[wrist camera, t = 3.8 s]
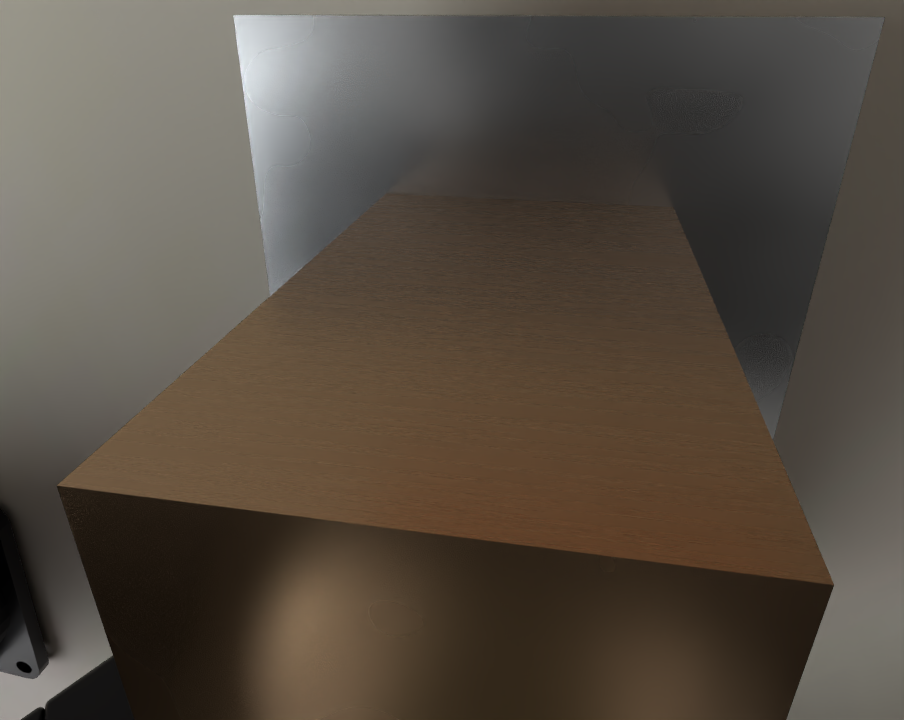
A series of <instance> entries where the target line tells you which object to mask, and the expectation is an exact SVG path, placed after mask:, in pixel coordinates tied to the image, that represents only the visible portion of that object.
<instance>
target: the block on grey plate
mask: <svg viewBox="0 0 904 720" xmlns="http://www.w3.org/2000/svg"><path fill="white" fill-rule="evenodd" d="M233 16H234V24H235V31H236V39H237V47H238V54H239V62H240V70H241V77H242V85H243V93H244V100H245V108H246V116H247V123H248V131H249V139H250V146H251V154H252V162H253V169H254V177H255V185H256V192H257V200H258V208H259V215H260V223H261V231H262V238H263V246H264V254H265V261H266V269H267V277H268V284H269V292H270V297H269V298H268V299H267V300H265V301H264V302H263V303H262V304H261V305H260V306H259V307H258V308H256V309H255V310H254V311H253V312H252V313H251V314H250V315H249V316H247V317H246V318H245V319H244V320H243V321H242V322H241V323H240V324H238V325H237V326H236V327H235V328H234V329H233V330H232V331H230V332H229V333H228V334H227V335H226V336H225V337H224V338H223V339H221V340H220V341H219V342H218V343H217V344H216V345H215V346H214V347H212V348H211V349H210V350H209V351H208V352H207V353H206V354H205V355H203V356H202V357H201V358H200V359H199V360H198V361H197V362H196V363H194V364H193V365H192V366H191V367H190V368H189V369H188V370H187V371H185V372H184V373H183V374H182V375H181V376H180V377H179V378H178V379H176V380H175V381H174V382H173V383H172V384H171V385H170V386H168V387H167V388H166V389H165V390H164V391H163V392H162V393H161V394H159V395H158V396H157V397H156V398H155V399H154V400H153V401H152V402H150V403H149V404H148V405H147V406H146V407H145V408H144V409H143V410H141V411H140V412H139V413H138V414H137V415H136V416H135V417H134V418H132V419H131V420H130V421H129V422H128V423H127V424H126V425H125V426H123V427H122V428H121V429H120V430H119V431H118V432H117V433H115V434H114V435H113V436H112V437H111V438H110V439H109V440H108V441H106V442H105V443H104V444H103V445H102V446H101V447H100V448H99V449H97V450H96V451H95V452H94V453H93V454H92V455H91V456H90V457H88V458H87V459H86V460H85V461H84V462H83V463H82V464H81V465H79V466H78V467H77V468H76V469H75V470H74V471H73V472H72V473H70V474H69V475H68V476H67V477H66V478H65V479H64V480H63V481H61V482H60V483H59V484H58V485H57V488H58V491H59V494H60V497H61V500H62V503H63V506H64V509H65V512H66V515H67V518H68V521H69V524H70V527H71V530H72V533H73V536H74V539H75V542H76V545H77V548H78V551H79V554H80V557H81V560H82V563H83V566H84V569H85V572H86V575H87V578H88V581H89V584H90V587H91V590H92V593H93V596H94V599H95V602H96V605H97V608H98V611H99V614H100V617H101V620H102V623H103V626H104V629H105V632H106V635H107V638H108V641H109V644H110V647H111V650H112V653H113V656H114V659H115V663H116V666H117V669H118V672H119V675H120V678H121V681H122V684H123V687H124V690H125V693H126V696H127V699H128V702H129V705H130V708H131V711H132V714H133V717H134V720H786V719H787V716H788V713H789V710H790V707H791V704H792V702H793V699H794V696H795V693H796V690H797V688H798V685H799V682H800V679H801V676H802V674H803V671H804V668H805V665H806V662H807V660H808V657H809V654H810V651H811V648H812V646H813V643H814V640H815V637H816V634H817V631H818V629H819V626H820V623H821V620H822V617H823V615H824V612H825V609H826V606H827V603H828V601H829V598H830V595H831V592H832V589H833V587H834V584H833V581H832V579H831V577H830V574H829V572H828V569H827V567H826V565H825V562H824V560H823V558H822V555H821V553H820V551H819V548H818V546H817V544H816V541H815V539H814V537H813V534H812V532H811V529H810V527H809V525H808V522H807V520H806V518H805V515H804V513H803V511H802V508H801V506H800V504H799V501H798V499H797V497H796V494H795V492H794V489H793V487H792V485H791V482H790V480H789V478H788V475H787V473H786V471H785V468H784V466H783V464H782V461H781V459H780V457H779V454H778V452H777V449H776V447H775V445H774V442H773V439H774V435H775V431H776V427H777V424H778V420H779V416H780V412H781V408H782V405H783V401H784V397H785V393H786V390H787V386H788V382H789V378H790V374H791V371H792V367H793V363H794V359H795V356H796V352H797V348H798V344H799V340H800V337H801V333H802V329H803V325H804V321H805V318H806V314H807V310H808V306H809V303H810V299H811V295H812V291H813V287H814V284H815V280H816V276H817V272H818V269H819V265H820V261H821V257H822V253H823V250H824V246H825V242H826V238H827V235H828V231H829V227H830V223H831V219H832V216H833V212H834V208H835V204H836V200H837V197H838V193H839V189H840V185H841V182H842V178H843V174H844V170H845V166H846V163H847V159H848V155H849V151H850V148H851V144H852V140H853V136H854V132H855V129H856V125H857V121H858V117H859V114H860V110H861V106H862V102H863V98H864V95H865V91H866V87H867V83H868V79H869V76H870V72H871V68H872V64H873V61H874V57H875V53H876V49H877V45H878V42H879V38H880V34H881V30H882V27H883V23H884V19H885V17H773V16H476V15H233Z"/></svg>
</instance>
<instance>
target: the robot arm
mask: <svg viewBox="0 0 904 720" xmlns="http://www.w3.org/2000/svg"><path fill="white" fill-rule="evenodd" d="M48 664H49V659H48V656H47V652H46V649H45V645H44V642H43V638H42V635H41V631H40V627H39V624H38V620H37V617H36V613H35V610H34V606H33V602H32V599H31V595H30V592H29V588H28V585H27V581H26V578H25V574H24V570H23V567H22V563H21V560H20V556H19V553H18V549H17V545H16V542H15V538H14V535H13V531H12V528H11V524H10V521H9V519H8V517H7V515H6V514H5V513H4V512H3V511H2V510H1V509H0V672H4V673H8V674H12V675H17V676H21V677H25V678H30V679H34V678H37V677H38V676H39V675H40V673H41V672H42V671H43V670H44V669H45V667H46V666H47V665H48ZM21 720H134V717H133V714H132V711H131V708H130V705H129V702H128V699H127V696H126V693H125V690H124V687H123V684H122V681H121V678H120V675H119V672H118V669H117V666H116V663H115V659H114V656H111V657H110V658H109V659H107V660H106V661H104V662H103V663H101V664H100V665H99V666H97V667H96V668H94V669H93V670H91V671H90V672H89V673H87V674H86V675H84V676H83V677H81V678H80V679H79V680H77V681H76V682H74V683H73V684H71V685H70V686H69V687H67V688H66V689H64V690H63V691H61V692H60V693H59V694H57V695H56V696H54V697H53V698H51V699H50V700H49V701H48V702H47V703H46V706H45V709H44V708H42V707H39V708H37V709H35V710H34V711H32V712H31V713H30V714H28V715H27V716H25V717H24V718H22V719H21Z"/></svg>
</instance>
